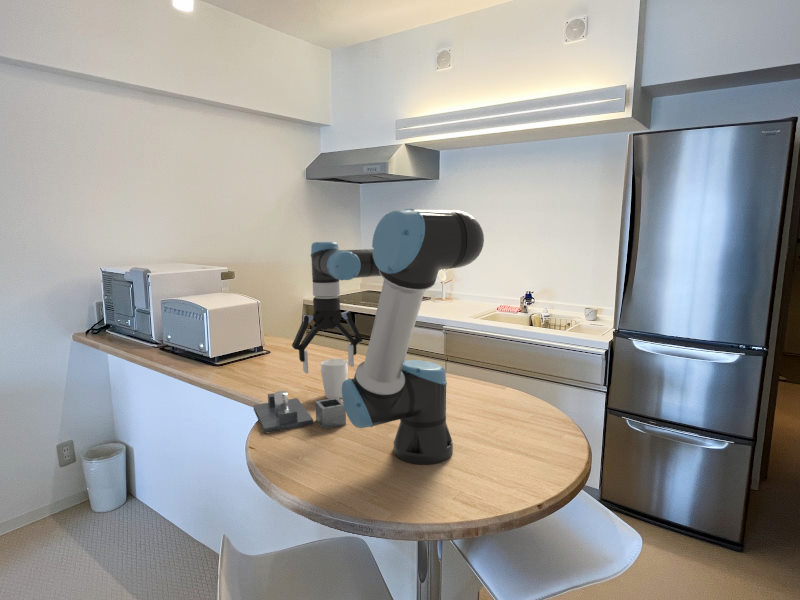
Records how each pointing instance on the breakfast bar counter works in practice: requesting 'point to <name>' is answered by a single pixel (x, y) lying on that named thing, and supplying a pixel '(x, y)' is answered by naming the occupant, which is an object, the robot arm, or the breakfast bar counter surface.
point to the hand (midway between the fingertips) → (328, 369)
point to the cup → (334, 376)
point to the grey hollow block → (330, 413)
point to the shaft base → (282, 413)
